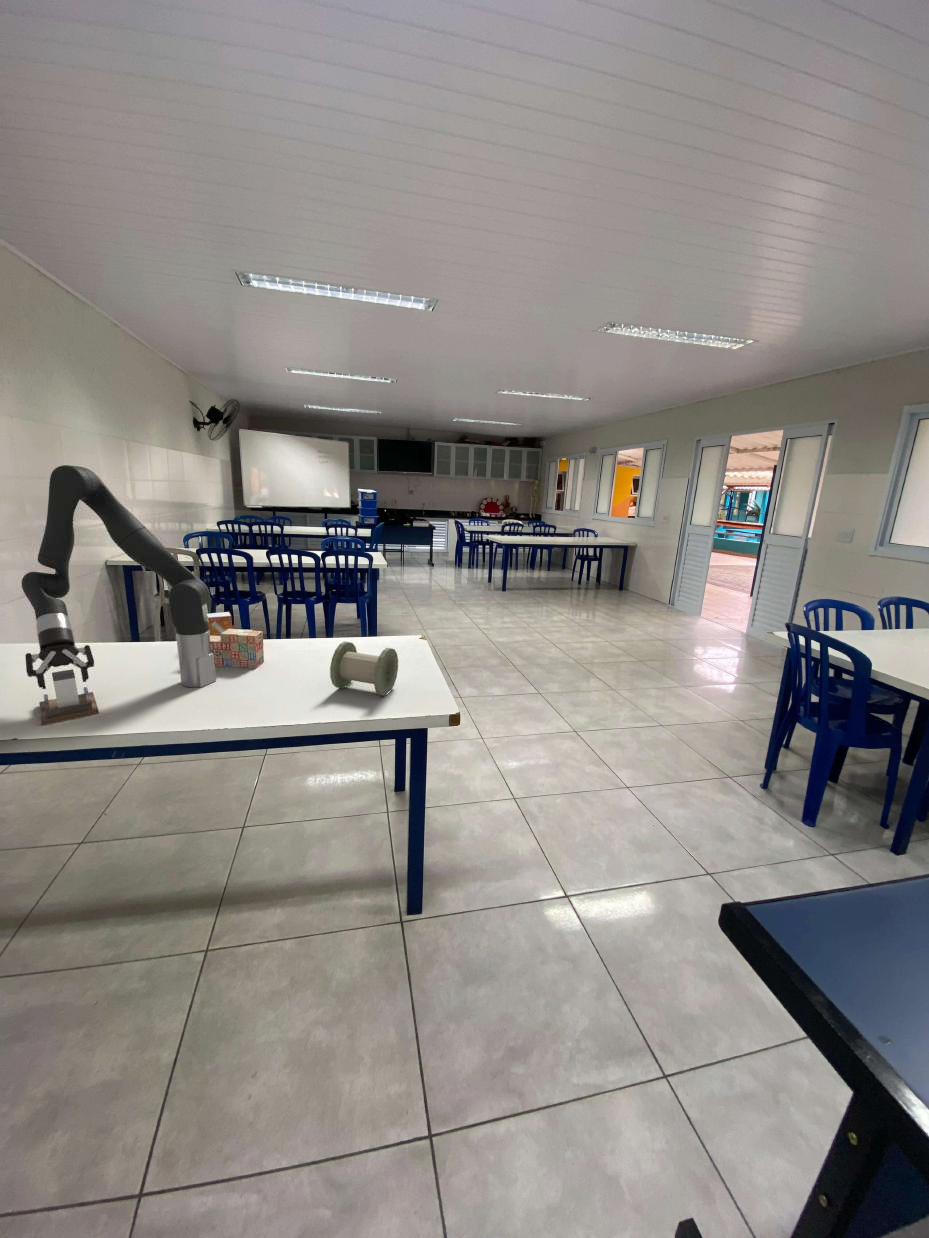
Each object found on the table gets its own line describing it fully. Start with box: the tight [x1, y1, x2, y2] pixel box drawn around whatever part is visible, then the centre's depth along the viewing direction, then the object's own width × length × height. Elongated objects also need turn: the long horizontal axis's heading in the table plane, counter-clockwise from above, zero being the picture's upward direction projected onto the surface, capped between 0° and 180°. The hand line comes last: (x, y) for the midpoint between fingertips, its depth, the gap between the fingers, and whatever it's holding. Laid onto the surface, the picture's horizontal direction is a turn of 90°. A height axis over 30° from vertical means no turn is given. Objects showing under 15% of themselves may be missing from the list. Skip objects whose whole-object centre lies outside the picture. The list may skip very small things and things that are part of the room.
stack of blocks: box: [210, 628, 265, 669], centre depth 171 cm, size 21×6×12 cm, turn 89°
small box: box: [205, 611, 233, 636], centre depth 188 cm, size 8×6×13 cm
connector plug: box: [51, 668, 79, 708], centre depth 131 cm, size 4×4×10 cm
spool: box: [329, 641, 399, 697], centre depth 156 cm, size 16×15×15 cm
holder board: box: [38, 686, 100, 726], centre depth 133 cm, size 14×12×3 cm
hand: (64, 684), depth 130 cm, fingers open, 8 cm apart
